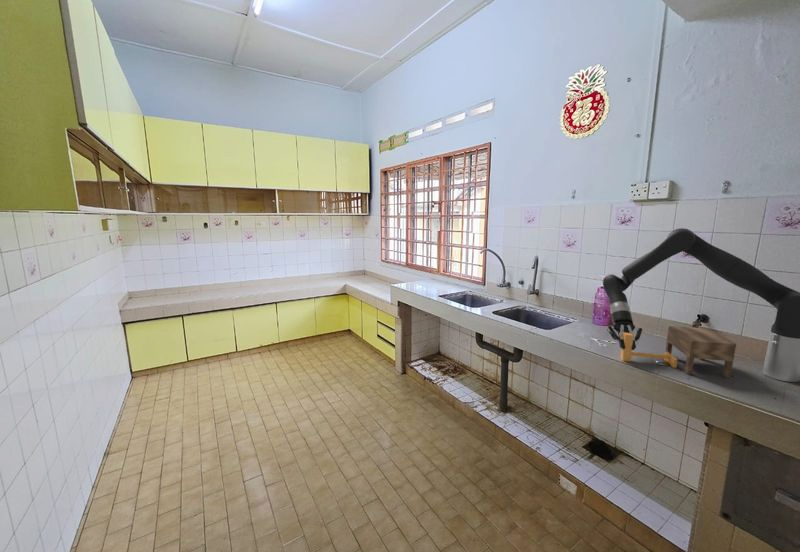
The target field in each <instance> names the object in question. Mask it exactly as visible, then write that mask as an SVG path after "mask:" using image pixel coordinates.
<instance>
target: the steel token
mask: <svg viewBox="0 0 800 552" xmlns="http://www.w3.org/2000/svg"><path fill="white" fill-rule="evenodd" d="M653 363H654V364H657V365H659V366H666V367H667V366H670V364H669V362H667V361H665V360H664V359H662V358H655V359H654V360H653Z"/></svg>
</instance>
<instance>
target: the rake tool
mask: <svg viewBox="0 0 800 552" xmlns="http://www.w3.org/2000/svg"><path fill="white" fill-rule="evenodd" d="M633 336H634V333H633V334H631V333H624V332H623V340H624V344H625V349H622V348H620V354H619V355H620V356H619V357H620V359H621V361H623V362H631V360H632V357H644V358H655V359H663V360H665V361H667V362H669V366H671V367H672V368H675V369H676V368H677V367H678V358H676V356H674V355H673V354H672V353H671V354H670V353H669V352H665V351H664V352H663V353H664V354H663V353H654V352H653V353H652V352H651V353H650V352H640V351H639V352H636V351H633V350H632V344H633Z"/></svg>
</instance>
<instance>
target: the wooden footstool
mask: <svg viewBox="0 0 800 552" xmlns="http://www.w3.org/2000/svg"><path fill="white" fill-rule="evenodd" d="M673 347H674V348H676V349H677V350H678V351H679V352H681V353H683V355H685V356H686V362H685V367H684V373H685V374H686V375H692V374H693V369H694V363H695V362H694V361H695V359H699V361H705V360H713V361H724V364H723V370H722V377H724V378H725V379H731V375H732V369H733V364H734V360H735V359H734V358H735V354H736V347H737V344H736V343H735V342H733V341H731V340H729V339H728V338H726V337H725V336H722V335H720V334H719V333H717V332H715V331H714V330H712V329H709V328H706V327H690V326H676V325H674V326H673V325H669V326H668V330H667V337H666V346H665V351H664V353H665V352H669V353H670V354H671V355H672V352H673Z"/></svg>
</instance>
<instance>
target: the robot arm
mask: <svg viewBox="0 0 800 552" xmlns="http://www.w3.org/2000/svg"><path fill="white" fill-rule="evenodd" d="M682 252H683V253H686V254H687V255H688V256H689V255H690V256H691V257H692V258H694V259H696V260H698V262H700V263H701V264H702V265H703V266H705V267H706V268H707V269H709V270H710V271H711V272H712V273H714V274H715V275H717V276H718V277H720V278H721V279H722V280H723V279H724V281H727V282H728V283H730V284H732V285H734V286H737V287H739V288H741V289H743V290H745V291H748V292H751V293H752V294H754V295H757V296H759V297H760V298H761V299H763V300H764V301H766V302H767V303H769V304H770V305H771V306H773V307H774V308H775V309H776V310H777V311H776V315H775V320H774V323H773V324H772V325H771V327H770V334H769V339H768V342H767V343H768V344H767V348H766V352H765V353H766V354H765V359H764V363H763V367H762V368H763V369H762V374H763V375H765V376H766V377H769V378H772V379H774V380H778V381H783V382H789V383H798V382H800V291H798V290H795V289H793V288H790V287H788V286H787V285H784V284H782V283H780V282H777V281H776V280H774V279H773V278H771V277H769V276H768V275H766V274H765V273H764V271H761V270H760V269H759V268H757V267H756V266H754V265H752V264H751V263H749V262H747V261H746V260H744V259H742V258H740V257H738V256H736V255H734V254H732V253H730V252H728V251H725V250H724V249H721V248H719V247H717V246H714V245H712V244H711V243H709V242H708V241H706V240H704V239H703V238H701V237H700V236H699V235H697V234H696V233H694V231H692V230H690V229H688V228H685V227H682V228H681V227H680V228H676V229H674V230H672V231H670V232H669V234H668V235H667V237H666V238H665V239H664V240H663V241H662V242H660V244H659V245H658V246H656V247H655V248H653V249H652V250H651V251H649V252H648V253H645V254H643V255H642V256H640V257H638V258H637V259H635V260H633V261H632V262H631V263H629V264H628V265H626V266H625V267H623V268H622V270H621V274H622V276H621V277H619V276H617V275H615V274H607V275H606V276H604V278H603V280H602V286H603V289H604V291H605V294H606V296H607V298H608V301H609V306H610V307H609V308H610V315H611V319H612V325H609V326H608V327H607V328H606V331H607V332H608V333H609V335H610V337H611V338H612V339H613V340H614V341H618V343H619V344H618V345H619V347H620V349H621V348H622V349H625V344H624V340H623V332H624V333H631V334H633V344H632V351H635V349H636V348H637V344H636V342H638V341H639V340H640V338H641V335H642V331H643V328H641V327H636V325H634V321H633V316H632V313H631V308H630V306H629V303H628V298H627V296H626V293H624V291H626V290H627V289H629V287H630V286H631V285H632V284H633V283H634V282H635V281H636V280H637V279H639V278H640V277H642V276H643V275H645V274H646V273H648V272H649V271H651V270H653V268H655V267H656V266H658V265H659V264H661V263H662V262H665V261H666V260H668V259H669V258H671V257H673V256H676V255H678V254H680V253H682ZM634 332H635V336H634Z"/></svg>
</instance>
